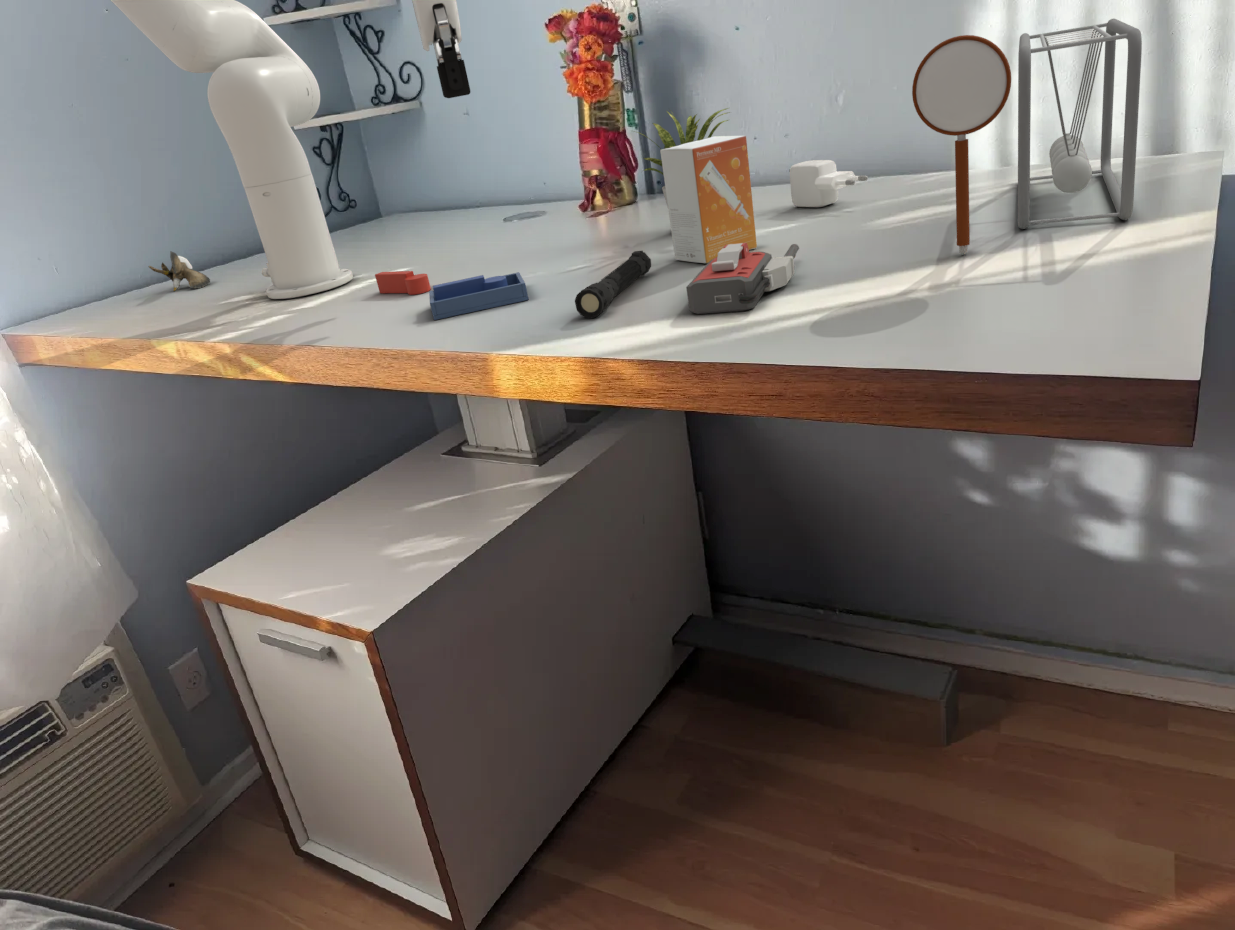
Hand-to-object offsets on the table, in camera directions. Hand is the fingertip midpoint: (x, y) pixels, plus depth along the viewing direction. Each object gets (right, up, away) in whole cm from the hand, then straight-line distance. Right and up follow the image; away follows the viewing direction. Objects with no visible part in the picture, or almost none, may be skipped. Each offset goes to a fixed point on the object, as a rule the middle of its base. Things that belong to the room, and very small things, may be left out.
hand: (457, 96), depth 120 cm
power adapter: (+50, -12, +7) cm, 52 cm away
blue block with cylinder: (+4, -29, -12) cm, 31 cm away
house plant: (+33, -15, +8) cm, 37 cm away
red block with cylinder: (-7, -25, +3) cm, 26 cm away
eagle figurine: (-53, -18, +39) cm, 68 cm away
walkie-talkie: (+34, -30, -25) cm, 52 cm away
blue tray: (+5, -29, -11) cm, 31 cm away
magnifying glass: (+55, -27, -28) cm, 68 cm away
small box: (+33, -23, -9) cm, 41 cm away
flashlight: (+21, -30, -19) cm, 41 cm away
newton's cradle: (+73, -18, -14) cm, 76 cm away
